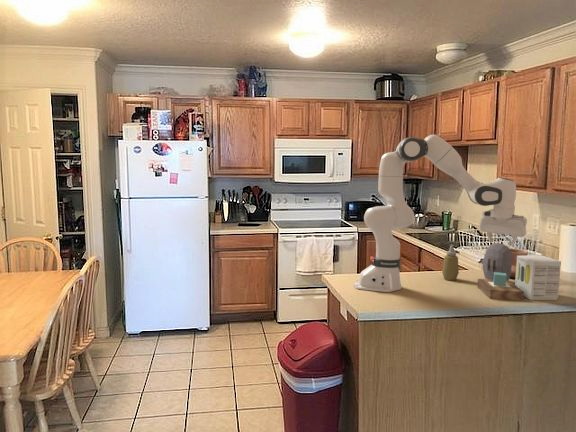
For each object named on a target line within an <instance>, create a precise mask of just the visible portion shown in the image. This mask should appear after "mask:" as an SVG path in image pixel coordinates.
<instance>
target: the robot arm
mask: <svg viewBox="0 0 576 432" xmlns="http://www.w3.org/2000/svg"><path fill="white" fill-rule="evenodd" d="M421 158H426V159H427V160H428V161H430V163H432V164H433V165H434V167H436V168H437V169H438V170H439V171H441V172H443V173H444V174H446V175H448V176H450V177H452V178H453V179H454V180H455V181H456V182H457V183H459V185H460V186H462V187H463V189H464V190H465V191H466V193H467V195H468V198H469V200H470V201H471V202H472V204H475V205H479V206H483V207H487V206H488V207H489V206H493V208H492V209H488V210H484V211H482V213H481V215H482V216H481V218H480V221H479V230H480V231H481V232H484V233H486V235H487V238H488V243H495V242H494V240H495V238H493V237H492V235H493V234H498V235H505V236H510V237H511V238H512V240H511V241H509V242H508V245H509V246H515V241H517V239H518V238H524V237H525V236H526V235H527V222H528V220H527V218H526V217H525V216H524V215H517V214H515V210H516V207H515V202H516V199H517V198H516V197H517V184H516V182H515V180H513V179H509V178H506V177H497V178H496V179H494V180H492V181H490V182H487V183H483V182H480V181H478V180H476V179H475V177H473V176H472V175H471V174H470V173H469V172H468V171H467V170H466V168H465V167H464V165H463V160H462V156H461V155H460V154H459V152H458V151H457V150H456V149H455V148H454V147H453V146H452V145H451V144H450V143H448V142H447V141H446V140H445V139H443V138H442V137H441V136H439V135H437V134H429V135H427V136H426V137H425V138H424V139H422V138H418V137H413V136H411V137H410V136H409V137H405V138H403V139H401V141H399V143H398V144H397V146H396V148H395V149H394V151H388V152H386V153H384V154H383V155H382V156H381V158H380V162H379V167H378V183H377V184H378V185H377V186H378V189H377V191H378V194H379V195H380V196H381V197H383V198H384V199H385V201H386V205H380V206H379V205H378V206H377V205H376V206H373V207H369V208H367V209H366V211H365V213H364V215H363V221H364V224H365V225H366V227H367V228H368V229H369V230H370V231H371V232H372V233H373V236H374V239H375V257H374V256H370V257H369V258H370V261H371V264H370V265H369V266H367V267H366V268H365V269H363V270H362V271H361V272H360V273H359V276H358V280H355V281H354V282H353V286H354V288H355V289H357V290H365V291H374V292H382V293H391V292H392V293H393V292H394V291H400V290H402V288H403V286H402V283H401V276H400V275H401V273H400V271H401V263H402V262H401V258H400V257H401V243H400V241H399V239H397V238H396V237H395V236H393V233H392V230H397V229H399V230H400V229H405V228H407V227H410V226H412V224H414V220H415V212H414V210H413V209H412V208H411V207H410V206H409V205H408V203H407V202H406V200H405V196H404V191H403V190H404V189H403V187H404V186H403V185H404V184H403V181H404V180H403V179H404V177H403V176H404V167H405V165H406V163H411V162H412V163H413V162H416V161H417V160H419V159H421Z"/></svg>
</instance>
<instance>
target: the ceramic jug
mask: <svg viewBox="0 0 576 432" xmlns="http://www.w3.org/2000/svg"><path fill="white" fill-rule="evenodd" d="M509 249H510V250H511V252H512V268H511V276H510V279H511V278H512V279H515V278H516V264H517V256H529V255H528V254H529V251H527V250H525V249H518V248H509Z"/></svg>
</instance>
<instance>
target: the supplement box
mask: <svg viewBox="0 0 576 432" xmlns="http://www.w3.org/2000/svg"><path fill="white" fill-rule="evenodd" d="M561 267H562V260H557V259H555V258H551V257H548V256H544V255H527V256H517V264H516V278H514V279H515V281H514V285H516V286H517V287H518V288H520V289H521V290H522V291H524V295H523V298H526V299H527V300H528V299H529V300H530V301H534V300H535V301H553V300H555V301H556V300H559V289H560V279H561V278H560V276H561Z"/></svg>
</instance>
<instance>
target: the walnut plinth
mask: <svg viewBox="0 0 576 432" xmlns="http://www.w3.org/2000/svg"><path fill="white" fill-rule="evenodd" d="M493 280H494V279H486V278H477V285H476V288H478V289H479V290H480V291H481V292H482V293H483V294H484V295H485V296H486V297H487V298H489V300H490V299H491V300H506V301H507V300H509V301H510V300H511V301H524V296H523V295H524V291H522V290H521V289H520V288H518V287H517V286H516V285H515V283H513V282H512V281H510V279H509V280H506V286H498V285H494V283H493Z"/></svg>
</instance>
